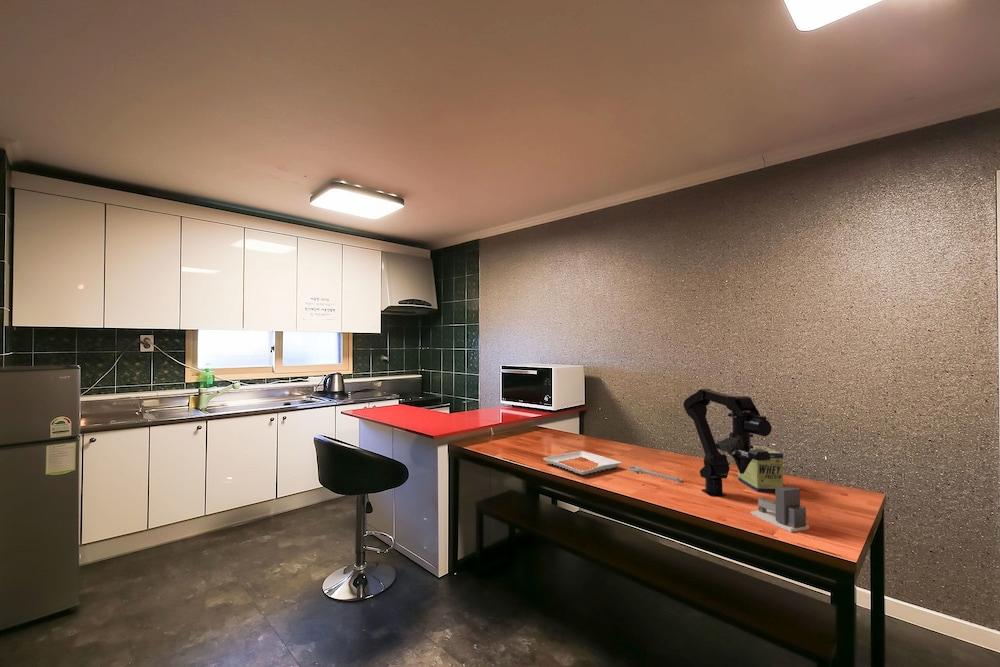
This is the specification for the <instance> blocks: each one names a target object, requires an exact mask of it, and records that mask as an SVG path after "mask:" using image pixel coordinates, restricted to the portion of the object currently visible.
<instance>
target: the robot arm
mask: <svg viewBox="0 0 1000 667" xmlns="http://www.w3.org/2000/svg"><path fill="white" fill-rule="evenodd" d="M710 402H713V403H715V404H719V405H723V406H725V407H726V409H727V410H729V411H730V412H729V413H727V417H730V418H732V422H731V423H732V424H731V425H732V428H731V429H732V432H729V436H728V437H726V438H724V439H722V440H717V442H716V441H715V439H714V435H713V433H712V431H711V428H710V425H709V422H708V420H707V414H708V413H707V412H708V405H710ZM683 408H684V411H685V412H686V415H687V416H689V417H690V418H691V419H692V421H693V423H694V426H695V429H696V433H697V434H698V438H699V440H700V443H701V446H702V449H703V452H704V458H703V463H704V464H703V465H704V466H703V467H702V468H701V469H700V470H699V475H700V477H701V478H703V479H705V481H704V482H705V483H704V485H705V486H704V488H702V489H701V491H702V492H703V493H705V494H707V495H708V496H711V497H712V496H715V497H716V496H717V497H720V496H726V495H727V494H726V493H724V492H723V479H725V480H726V479H728V475H729V472H730V470H731V468H730V462H729V461H728V456H727V455H726V454H725V453H728V455H730V456H731V457H732V458H733V460H734V461H735V465H736V467H737V471H738V470H739V472H740V473H741V474H744V472H745V470H746V469H747V467H748V465H749V463H750V462H751V461H752V459H754V460H758V461H760V460H770V453H769V452H768V451H765V450H761V449H753V446H752V445H753V444H752V445H751V438H754V435H756V436H761V437H768V436H769V435H770V434H771V432H772V425H771V423H770V421H769V420H767V416H765V415H761V414H760V412H759V410H758V409H757V406H756V405H755V403H754V402H753V400H752V398H751V397H750V396H746V395H745V396H744V395H730V394H726V393H724V392H719V391H716V390H713V389H710V388H700V389H698V390H697V391H696V392H694V393H693V394H691V395H689V396H688V397H687V398H686V399H685V400H684V402H683ZM750 449H753V450H750ZM719 450H720V451H721V453H720V451H719ZM743 450H745V451H743ZM722 452H725V453H724V454H723V453H722Z"/></svg>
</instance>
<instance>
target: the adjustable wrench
mask: <svg viewBox="0 0 1000 667" xmlns="http://www.w3.org/2000/svg"><path fill="white" fill-rule="evenodd" d="M634 468H635V469H634ZM629 470H630V471H634V472H637V473H636V474H639V473H638V472H641V473H640V474H643V473H646V474H645V475H648V474H650V475H649V476H651V475H654V476H653V477H655V476H658V477H657V478H659V477H662V478H661V479H663V478H666V479H665V480H667V479H670V480H669V481H671V480H673V481H672V482H675V481H677V482H676V483H683V479H682V478H681V477H676V476H671V475H667V474H664V473H659V472H655V471H650V470H647V469H645V468H642V467H640V466H636V465H630V466H629V467H628V471H629ZM630 471H629V472H630ZM634 472H633V473H634Z"/></svg>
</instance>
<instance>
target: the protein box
mask: <svg viewBox="0 0 1000 667" xmlns="http://www.w3.org/2000/svg"><path fill="white" fill-rule="evenodd" d="M752 446H753V449H761V450H765V451H768V452H769V453H770V460H760V461H758V460H754V459H752V461H751V462H750V463H749V465H748V467H747V469H746V470H745V472H744V474H741V473H740V472H739V470H738V469H737V480H738V481H740V482H741V483H743V484H744V485H746V486H747V487H749V488H751V489H752V490H754V491H756V492H757V493H775V488H778V487H784V454H783V453H781V452H779V451H776V450H774V449H771V448H769V447H768V446H767V447H766V446H764V445H762V444H761V445H758V444H752ZM753 449H750V450H753ZM743 451H745V450H743Z"/></svg>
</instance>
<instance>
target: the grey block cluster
mask: <svg viewBox="0 0 1000 667" xmlns="http://www.w3.org/2000/svg"><path fill="white" fill-rule="evenodd" d="M757 503H758V504H757V506H758V510H759V511H760V512H762V513H763V512H767V509H768V510H771V511H773V512H776V503H775V501H773V500H770V499H768V498H765V497H759V498H757ZM787 525H788V526H790V527H792V528H800V527H806V525H807V508H806V507H805V506H803V505H801V504H800V505H792V506H787Z"/></svg>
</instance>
